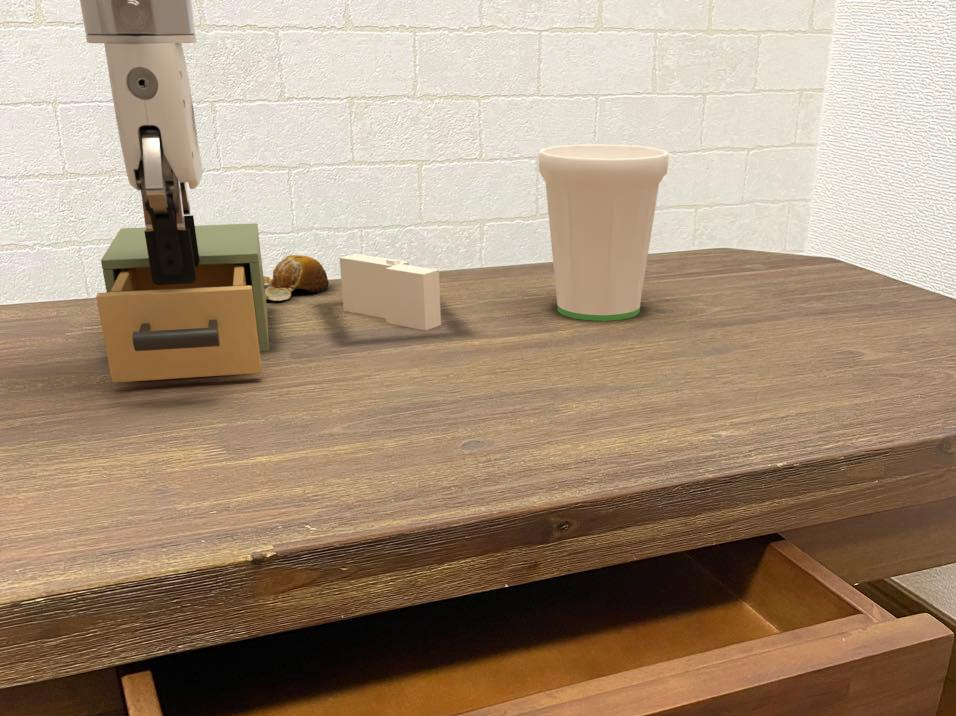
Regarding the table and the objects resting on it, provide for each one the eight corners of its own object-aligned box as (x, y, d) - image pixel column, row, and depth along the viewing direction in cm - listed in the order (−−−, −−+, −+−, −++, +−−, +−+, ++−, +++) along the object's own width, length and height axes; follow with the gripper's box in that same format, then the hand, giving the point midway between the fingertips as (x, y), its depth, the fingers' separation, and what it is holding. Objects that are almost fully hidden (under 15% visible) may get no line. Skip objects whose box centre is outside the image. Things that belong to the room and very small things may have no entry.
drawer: (262, 391, 80) (251, 303, 77) (104, 402, 77) (87, 311, 74) (260, 329, 95) (251, 253, 92) (129, 336, 93) (116, 259, 90)
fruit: (239, 289, 113) (235, 255, 111) (310, 279, 117) (307, 246, 115) (269, 305, 107) (265, 269, 105) (343, 294, 111) (340, 259, 109)
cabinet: (269, 351, 92) (257, 253, 88) (118, 361, 89) (100, 259, 86) (267, 310, 105) (257, 223, 101) (135, 318, 102) (120, 228, 98)
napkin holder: (321, 306, 107) (316, 249, 104) (429, 298, 110) (427, 243, 107) (344, 345, 94) (339, 282, 91) (466, 335, 97) (464, 273, 95)
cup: (684, 317, 103) (696, 154, 97) (577, 333, 98) (581, 162, 91) (616, 291, 113) (622, 141, 106) (515, 304, 108) (515, 147, 101)
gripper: (187, 21, 68) (223, 297, 76) (199, 20, 83) (228, 251, 91) (64, 21, 67) (115, 303, 75) (99, 19, 81) (138, 255, 90)
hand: (177, 272), depth 83 cm, fingers open, 5 cm apart
